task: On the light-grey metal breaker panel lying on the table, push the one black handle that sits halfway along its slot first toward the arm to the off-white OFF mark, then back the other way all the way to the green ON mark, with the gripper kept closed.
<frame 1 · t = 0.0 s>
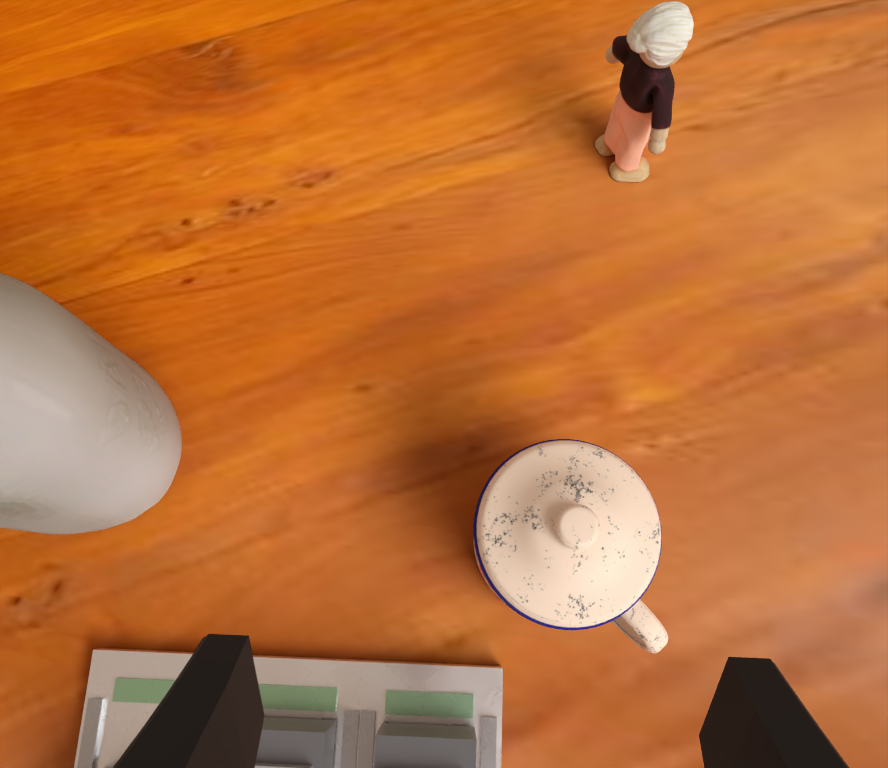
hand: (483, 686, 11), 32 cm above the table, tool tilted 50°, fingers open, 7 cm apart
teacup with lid: (561, 560, 43), on the table
grandmother figurine: (618, 151, 51), on the table
glass bottle: (126, 459, 45), on the table
breaker 2: (277, 767, 37), point 4 cm above the table, slide at 3.0 cm
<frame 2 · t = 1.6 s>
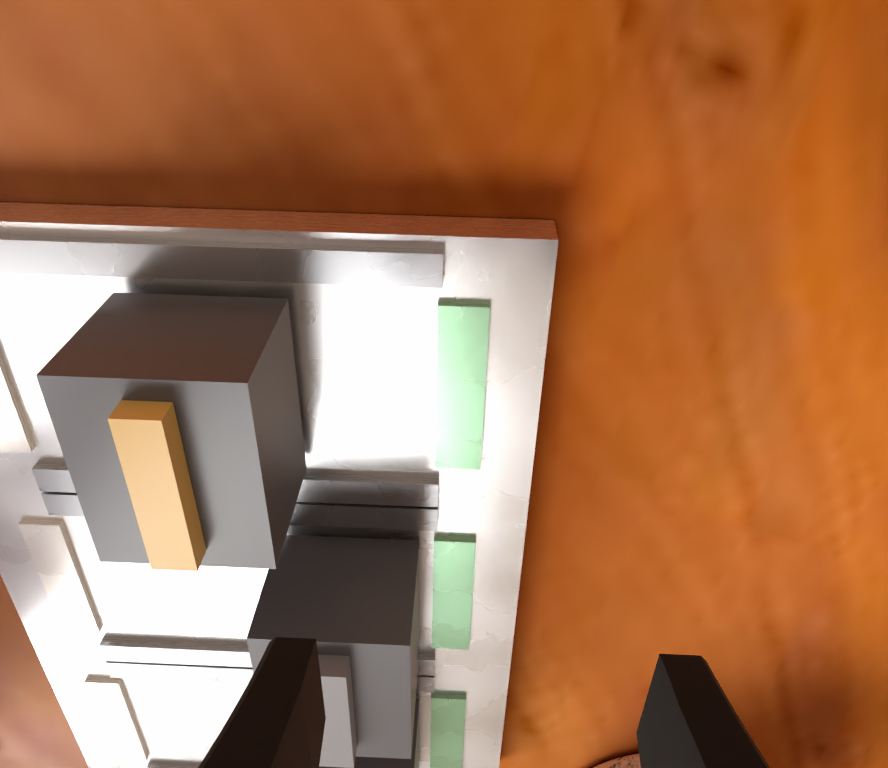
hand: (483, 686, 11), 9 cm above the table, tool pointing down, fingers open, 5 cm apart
breaker panel: (266, 555, 23), on the table
breaker 2: (343, 655, 20), point 4 cm above the table, slide at 3.0 cm
tripped breaker: (189, 437, 16), point 4 cm above the table, slide at 0.0 cm
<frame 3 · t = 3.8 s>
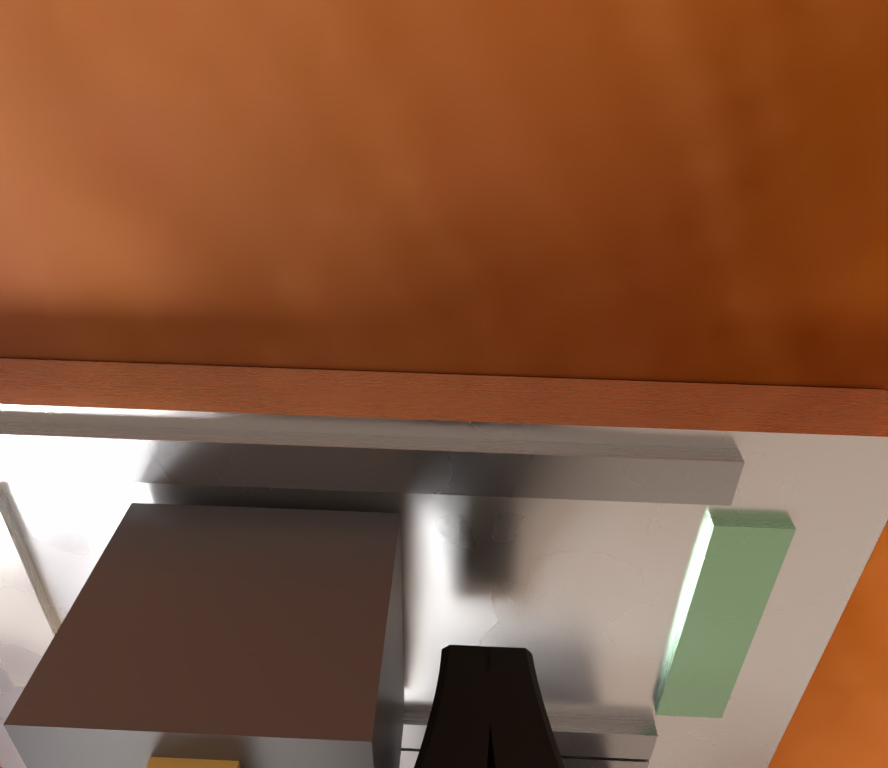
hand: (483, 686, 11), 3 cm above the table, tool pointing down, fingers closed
tripped breaker: (251, 736, 10), point 4 cm above the table, slide at -1.2 cm, touching gripper
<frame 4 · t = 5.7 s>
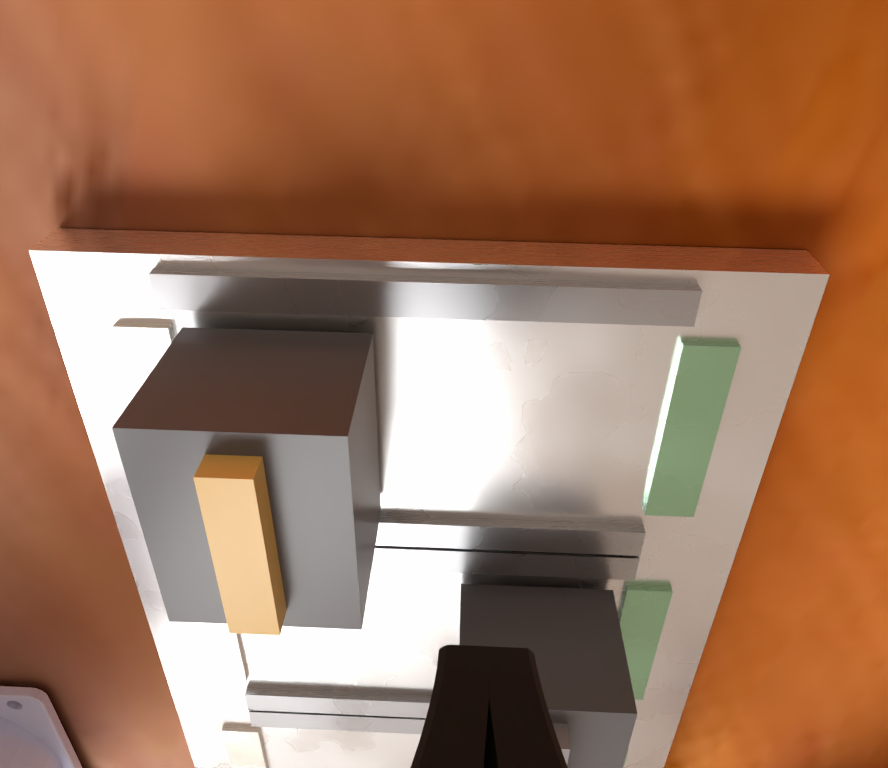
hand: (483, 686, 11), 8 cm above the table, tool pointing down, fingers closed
breaker panel: (426, 600, 22), on the table
breaker 2: (533, 714, 19), point 4 cm above the table, slide at 3.0 cm
tripped breaker: (267, 486, 15), point 4 cm above the table, slide at -3.0 cm
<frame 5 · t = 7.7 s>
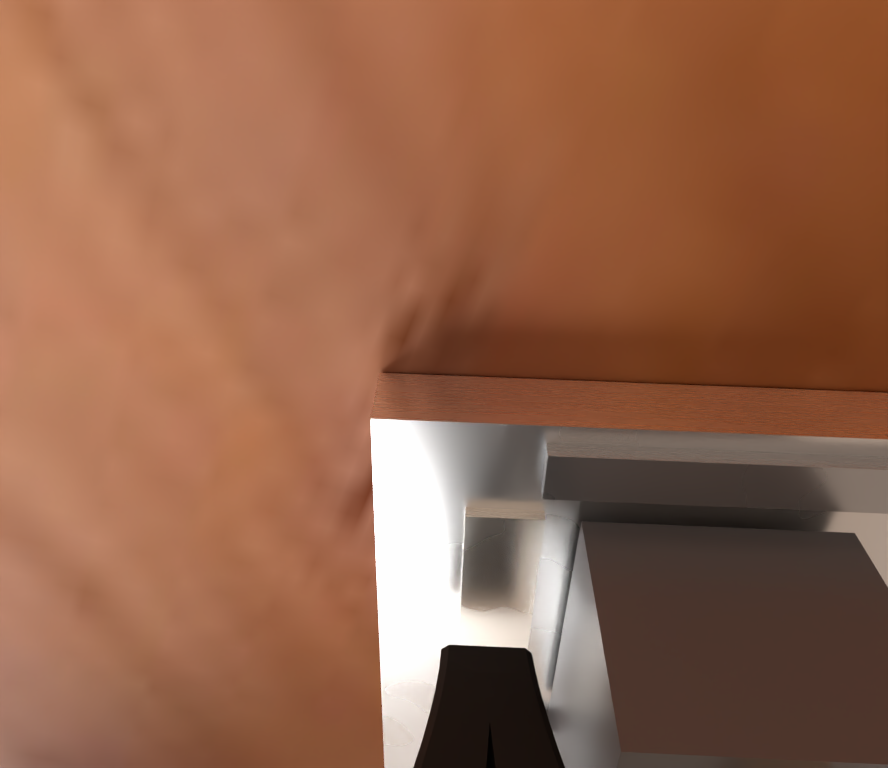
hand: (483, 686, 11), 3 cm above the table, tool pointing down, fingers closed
tripped breaker: (717, 757, 10), point 4 cm above the table, slide at -2.9 cm, touching gripper
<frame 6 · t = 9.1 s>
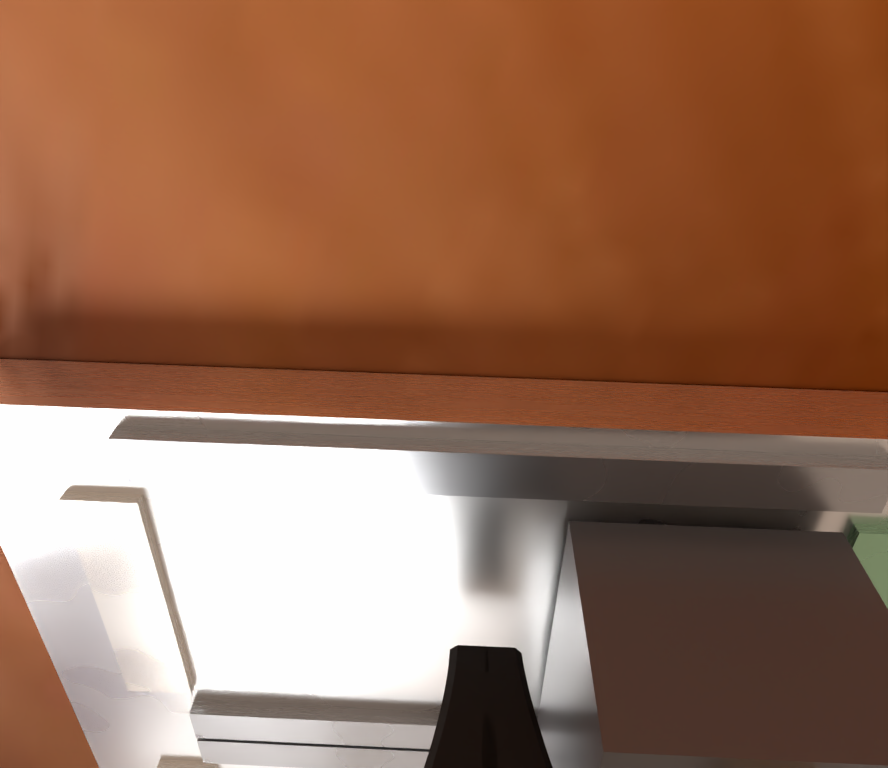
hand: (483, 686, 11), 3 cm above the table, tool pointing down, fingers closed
tripped breaker: (704, 757, 10), point 4 cm above the table, slide at 3.1 cm, touching gripper
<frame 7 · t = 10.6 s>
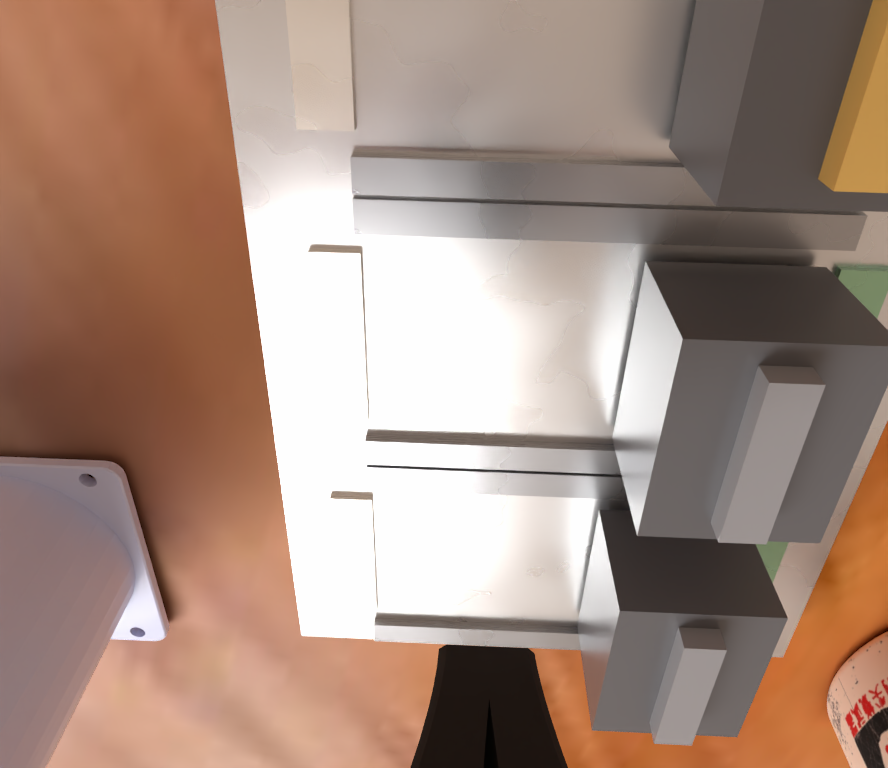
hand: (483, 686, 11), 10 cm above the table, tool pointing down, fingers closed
breaker 1: (670, 631, 20), point 4 cm above the table, slide at 3.0 cm
breaker panel: (578, 325, 19), on the table
breaker 2: (736, 408, 16), point 4 cm above the table, slide at 3.0 cm
tripped breaker: (851, 28, 12), point 4 cm above the table, slide at 3.0 cm
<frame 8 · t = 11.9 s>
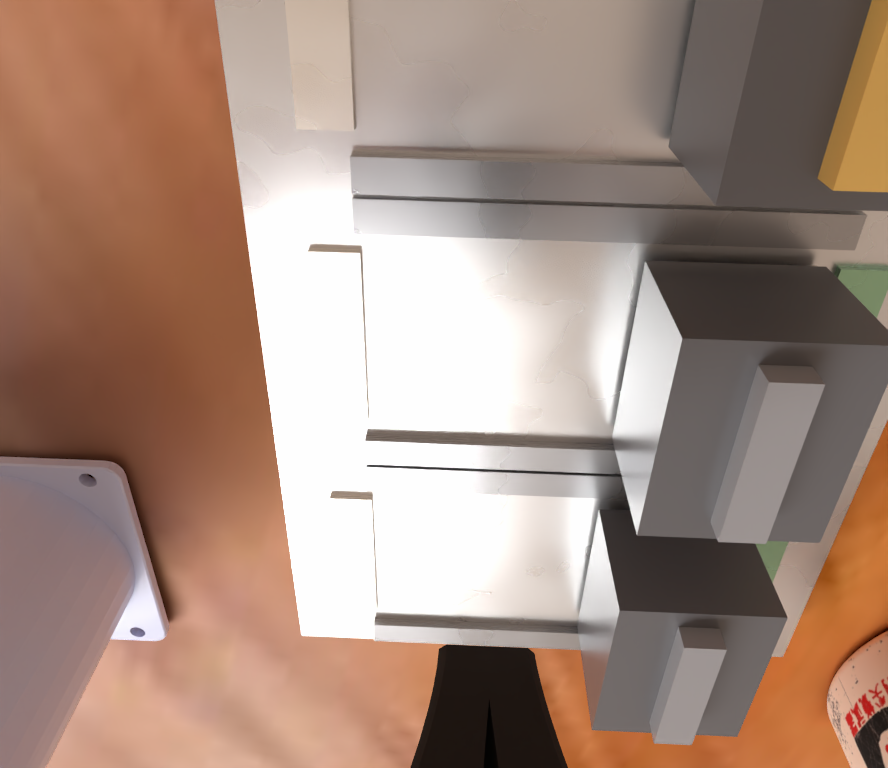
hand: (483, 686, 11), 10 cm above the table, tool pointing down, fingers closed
breaker 1: (669, 631, 20), point 4 cm above the table, slide at 3.0 cm
breaker panel: (578, 325, 19), on the table
breaker 2: (735, 408, 16), point 4 cm above the table, slide at 3.0 cm
tripped breaker: (851, 28, 12), point 4 cm above the table, slide at 3.0 cm
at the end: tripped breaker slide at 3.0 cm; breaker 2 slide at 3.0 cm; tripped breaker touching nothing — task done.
